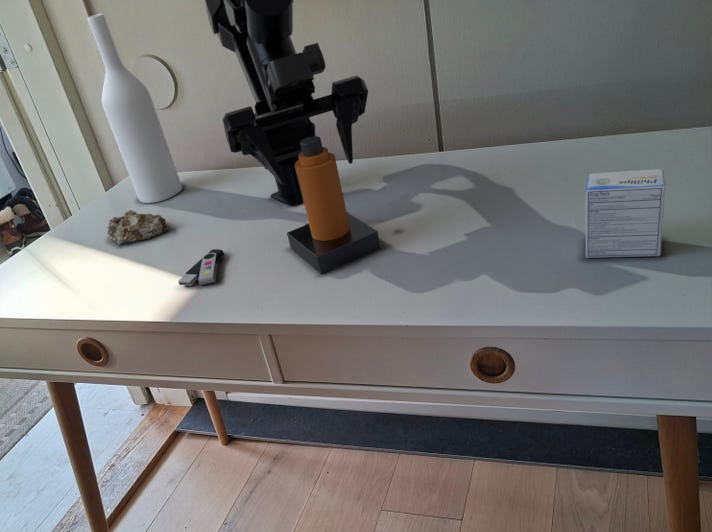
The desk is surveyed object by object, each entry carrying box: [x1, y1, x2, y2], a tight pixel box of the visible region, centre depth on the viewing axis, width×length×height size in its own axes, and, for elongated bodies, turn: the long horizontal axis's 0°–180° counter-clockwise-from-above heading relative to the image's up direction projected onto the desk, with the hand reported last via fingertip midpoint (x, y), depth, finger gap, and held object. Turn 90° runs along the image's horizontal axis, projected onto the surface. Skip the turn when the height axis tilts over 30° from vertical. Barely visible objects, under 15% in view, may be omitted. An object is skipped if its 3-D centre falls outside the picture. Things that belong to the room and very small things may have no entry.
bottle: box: [87, 13, 183, 204], centre depth 119 cm, size 8×8×30 cm
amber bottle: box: [295, 135, 350, 241], centre depth 91 cm, size 5×5×13 cm
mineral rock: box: [107, 209, 169, 246], centre depth 113 cm, size 11×4×8 cm
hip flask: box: [286, 211, 382, 275], centre depth 96 cm, size 12×9×3 cm
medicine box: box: [585, 168, 666, 259], centre depth 78 cm, size 8×4×9 cm, turn 71°
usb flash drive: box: [178, 248, 225, 287], centre depth 97 cm, size 9×5×1 cm, turn 155°
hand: (317, 172), depth 90 cm, fingers open, 9 cm apart
